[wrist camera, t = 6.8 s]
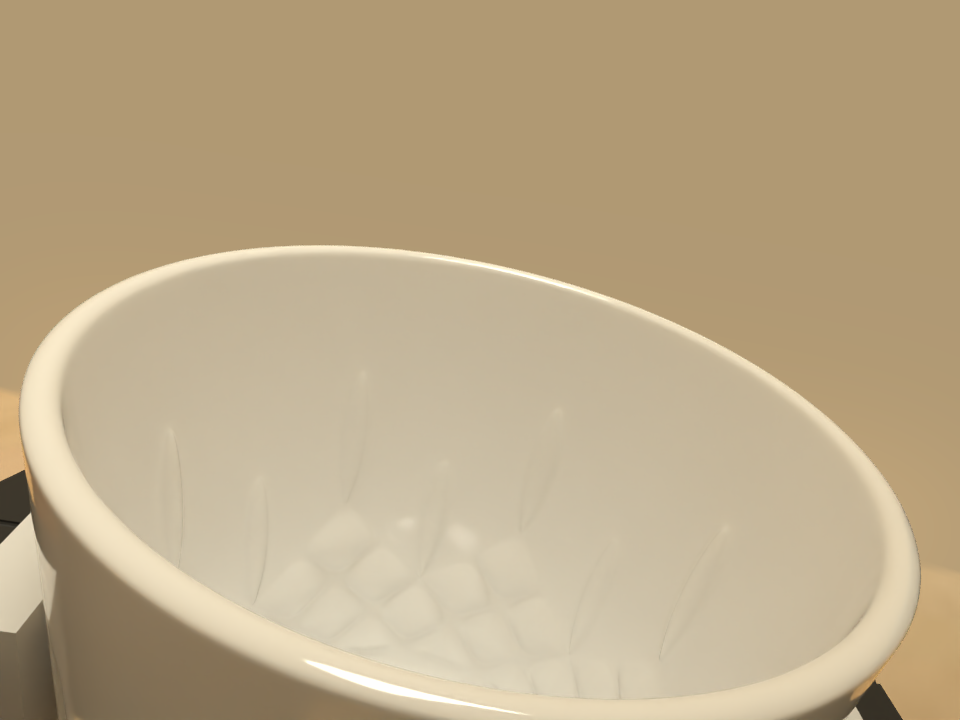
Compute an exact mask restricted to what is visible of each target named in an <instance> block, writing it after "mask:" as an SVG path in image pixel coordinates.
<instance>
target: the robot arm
mask: <svg viewBox="0 0 960 720" xmlns="http://www.w3.org/2000/svg"><path fill="white" fill-rule="evenodd" d="M0 720H58V715H57V707H56V699H55V692H54V684H53V676H52V668H51V660H50V652H49V644H48V636H47V629H46V621H45V613H44V605H43V598H42V590H41V582H40V575H39V568H38V560H37V553H36V546H35V538H34V531H33V524H32V516H31V509H30V502H29V494H28V487H27V480H26V473H25V470H23V471H21V472H19V473H17V474H15V475H13V476H11V477H9V478H7V479H5V480H3V481H1V482H0ZM846 720H903V719H902V718H901V716H900V715H899V713H898V712H897V710H896V708H895V707H894V705H893V704H892V702H891V701H890V699H889V697H888V696H887V694H886V693H885V691H884V689H883V688H882V686H881V685H880V684H876V681H875V680H874V682H873V683H872V684H871V686H870V687H869V688H868V690H867V691H866V693H865V694H864V695H863V697H862V698H861V699H860V701H859V702H858V704H857V705H856V706H855V708H854V709H853V711H852V712H851V713H850V715H849V716H848V717H847V719H846Z"/></svg>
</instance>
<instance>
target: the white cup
mask: <svg viewBox="0 0 960 720" xmlns="http://www.w3.org/2000/svg"><path fill="white" fill-rule="evenodd" d="M19 429H20V437H21V444H22V451H23V458H24V466H25V473H26V480H27V487H28V494H29V502H30V509H31V516H32V524H33V531H34V538H35V546H36V553H37V560H38V568H39V575H40V582H41V590H42V598H43V605H44V613H45V621H46V629H47V636H48V644H49V652H50V660H51V668H52V676H53V684H54V692H55V699H56V707H57V715H58V720H846V719H847V717H848V716H849V715H850V713H851V712H852V711H853V709H854V708H855V706H856V705H857V704H858V702H859V701H860V699H861V698H862V697H863V695H864V694H865V693H866V691H867V690H868V688H869V687H870V686H871V684H872V683H873V682H874V680H875V679H876V677H877V676H878V675H879V673H880V672H881V671H882V669H883V668H884V667H885V665H886V664H887V662H888V661H889V660H890V658H891V657H892V656H893V654H894V653H895V651H896V650H897V649H898V647H899V646H900V644H901V642H902V641H903V639H904V637H905V636H906V634H907V632H908V630H909V628H910V625H911V623H912V621H913V618H914V615H915V612H916V608H917V604H918V599H919V594H920V584H921V568H920V559H919V553H918V548H917V544H916V540H915V537H914V534H913V531H912V528H911V525H910V523H909V520H908V518H907V516H906V514H905V511H904V509H903V507H902V505H901V504H900V502H899V500H898V498H897V497H896V495H895V493H894V492H893V490H892V489H891V487H890V485H889V484H888V482H887V481H886V480H885V478H884V477H883V476H882V474H881V473H880V471H879V470H878V469H877V467H876V466H875V465H874V464H873V463H872V461H871V460H870V459H869V458H868V457H867V455H866V454H865V453H864V452H863V451H862V450H861V449H860V447H859V446H858V445H857V444H856V443H855V442H854V441H853V440H852V439H851V438H850V437H849V436H848V435H847V434H846V433H844V431H843V430H841V428H839V427H838V426H837V425H836V424H835V423H834V422H833V421H832V420H831V419H829V418H828V417H827V416H826V415H825V414H823V413H822V412H821V411H820V410H819V409H817V408H816V407H815V406H813V405H812V404H811V403H810V402H809V401H807V400H806V399H805V398H803V397H802V396H801V395H799V394H798V393H797V392H795V391H794V390H793V389H791V388H790V387H788V386H787V385H786V384H784V383H783V382H781V381H780V380H778V379H777V378H775V377H774V376H772V375H771V374H769V373H768V372H766V371H764V370H763V369H761V368H760V367H758V366H756V365H755V364H753V363H751V362H749V361H748V360H746V359H745V358H743V357H741V356H739V355H738V354H736V353H734V352H732V351H730V350H728V349H727V348H725V347H723V346H721V345H719V344H717V343H715V342H714V341H712V340H710V339H708V338H706V337H704V336H701V335H700V334H697V333H695V332H693V331H691V330H689V329H687V328H685V327H683V326H680V325H678V324H676V323H674V322H672V321H669V320H667V319H665V318H662V317H660V316H657V315H655V314H653V313H650V312H648V311H646V310H643V309H640V308H638V307H635V306H633V305H630V304H628V303H625V302H622V301H620V300H616V299H614V298H611V297H608V296H605V295H602V294H600V293H596V292H594V291H591V290H588V289H584V288H581V287H578V286H575V285H572V284H568V283H565V282H562V281H558V280H554V279H551V278H547V277H544V276H540V275H536V274H532V273H528V272H524V271H520V270H516V269H512V268H508V267H503V266H499V265H494V264H489V263H484V262H479V261H474V260H468V259H462V258H457V257H451V256H445V255H438V254H430V253H424V252H416V251H407V250H397V249H387V248H375V247H358V246H332V245H331V246H330V245H308V246H282V247H281V246H280V247H266V248H254V249H244V250H236V251H229V252H223V253H216V254H211V255H205V256H201V257H196V258H191V259H187V260H183V261H179V262H175V263H171V264H168V265H164V266H161V267H158V268H155V269H152V270H149V271H146V272H143V273H140V274H138V275H135V276H133V277H130V278H128V279H125V280H123V281H121V282H119V283H117V284H115V285H113V286H111V287H108V288H107V289H105V290H103V291H101V292H99V293H98V294H96V295H94V296H93V297H91V298H89V299H88V300H86V301H85V302H83V303H82V304H81V305H79V306H77V307H76V308H75V309H74V310H72V311H71V312H70V313H69V314H68V315H66V316H65V317H64V318H63V319H62V320H61V321H60V322H59V323H58V324H57V325H56V326H55V327H54V328H53V329H52V330H51V331H50V332H49V334H48V335H47V336H46V337H45V338H44V340H43V341H42V343H41V344H40V345H39V347H38V348H37V350H36V352H35V353H34V355H33V357H32V359H31V361H30V363H29V365H28V368H27V370H26V373H25V376H24V380H23V383H22V387H21V392H20V398H19Z"/></svg>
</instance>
